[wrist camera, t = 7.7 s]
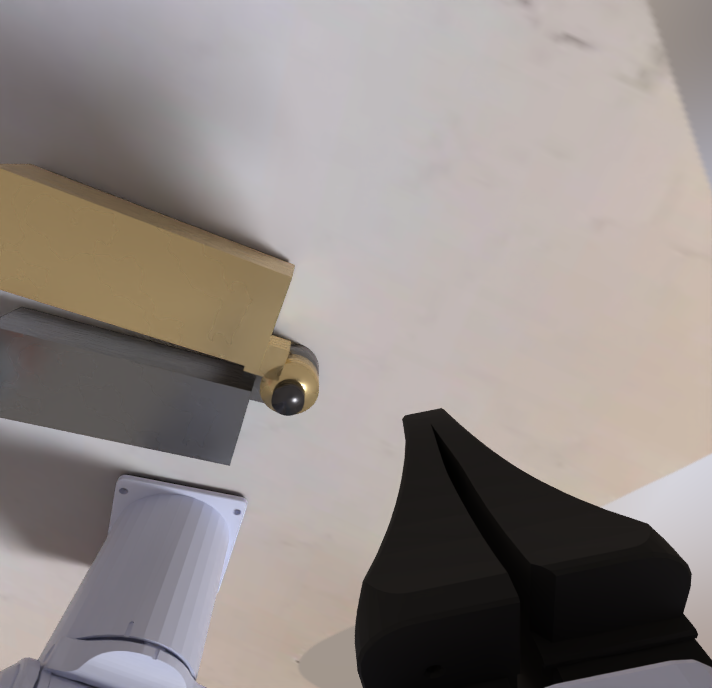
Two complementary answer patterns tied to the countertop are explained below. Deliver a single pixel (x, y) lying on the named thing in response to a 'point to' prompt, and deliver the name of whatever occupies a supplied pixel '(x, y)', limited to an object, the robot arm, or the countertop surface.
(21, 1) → the countertop surface
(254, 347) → the swing leaf
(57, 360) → the fixed leaf
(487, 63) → the countertop surface
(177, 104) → the countertop surface
